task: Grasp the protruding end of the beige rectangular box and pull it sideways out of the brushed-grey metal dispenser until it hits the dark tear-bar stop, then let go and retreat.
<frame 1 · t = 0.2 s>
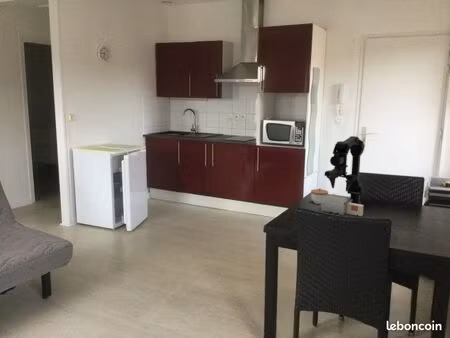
hand: (339, 189, 239), 14 cm above the table, fingers open, 9 cm apart
beige rectangular box: (346, 207, 242), point 3 cm above the table, slide at 0.0 cm
lidded jar: (318, 203, 264), on the table
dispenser: (335, 210, 246), on the table
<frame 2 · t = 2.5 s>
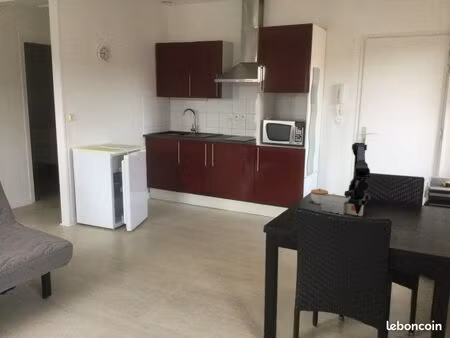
hand: (358, 213, 237), 1 cm above the table, fingers closed on beige rectangular box, 3 cm apart
beige rectangular box: (346, 207, 242), point 3 cm above the table, slide at 0.0 cm, touching gripper
everything else where it was.
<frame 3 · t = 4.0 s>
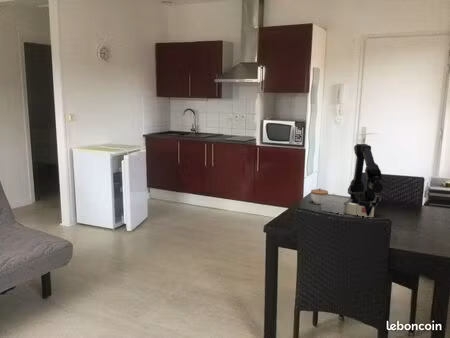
hand: (369, 215, 233), 1 cm above the table, fingers closed on beige rectangular box, 3 cm apart
beige rectangular box: (356, 209, 238), point 3 cm above the table, slide at 6.1 cm, touching gripper
everything else where it was.
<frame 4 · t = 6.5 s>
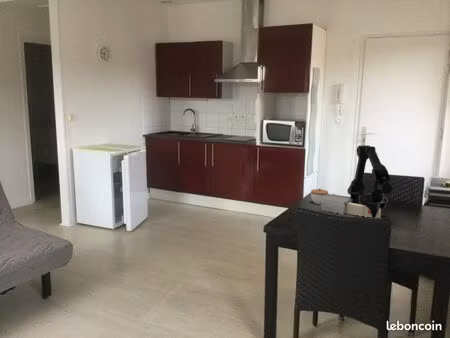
hand: (376, 216, 231), 1 cm above the table, fingers open, 9 cm apart
beige rectangular box: (363, 210, 235), point 3 cm above the table, slide at 10.0 cm
everything else where it was.
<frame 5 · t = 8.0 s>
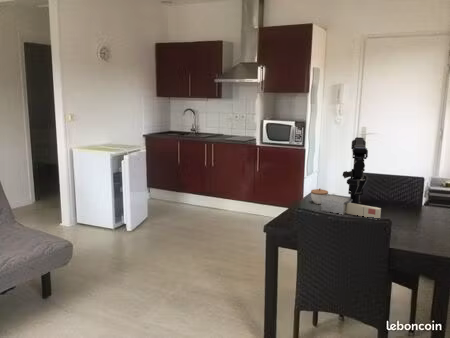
hand: (356, 193, 241), 12 cm above the table, fingers open, 9 cm apart
nothing on the table moved.
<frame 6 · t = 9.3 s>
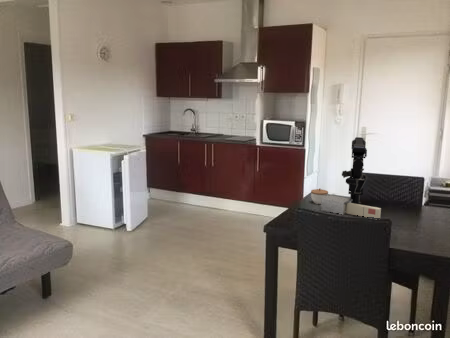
hand: (355, 192, 241), 12 cm above the table, fingers open, 9 cm apart
nothing on the table moved.
at the end: beige rectangular box slide at 10.0 cm; the gripper is holding nothing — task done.
